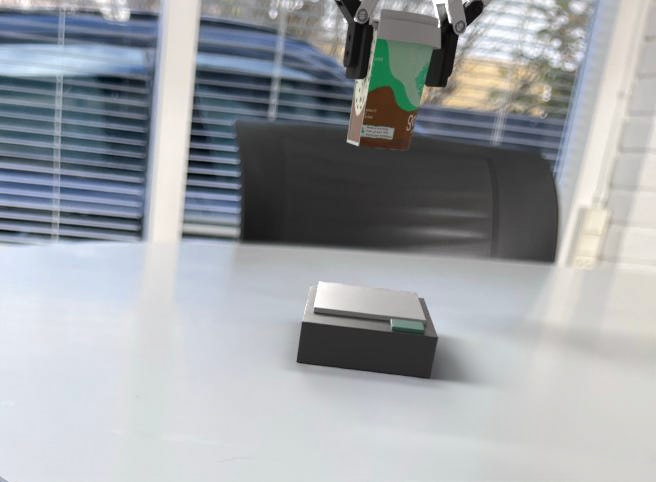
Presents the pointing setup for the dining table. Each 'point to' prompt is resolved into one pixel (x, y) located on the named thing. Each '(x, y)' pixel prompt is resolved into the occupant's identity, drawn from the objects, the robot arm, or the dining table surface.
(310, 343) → the scale
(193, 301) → the dining table surface
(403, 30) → the food container
